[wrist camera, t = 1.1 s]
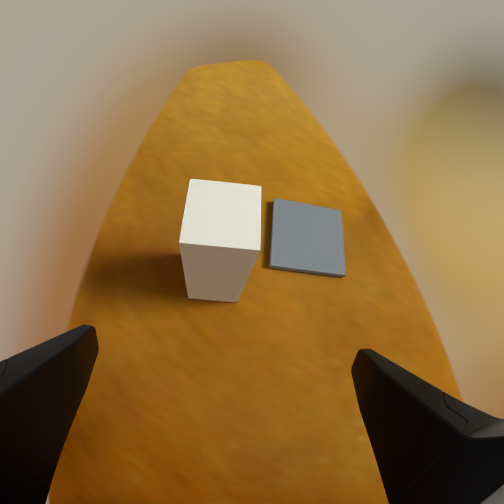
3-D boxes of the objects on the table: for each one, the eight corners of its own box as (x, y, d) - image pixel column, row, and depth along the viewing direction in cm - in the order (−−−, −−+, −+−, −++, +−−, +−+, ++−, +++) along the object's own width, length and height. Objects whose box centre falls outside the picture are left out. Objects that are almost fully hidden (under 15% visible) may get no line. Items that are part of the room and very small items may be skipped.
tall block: (237, 302, 23) (260, 250, 14) (188, 298, 23) (179, 242, 14) (239, 257, 25) (261, 186, 16) (193, 253, 24) (190, 178, 16)
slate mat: (342, 277, 26) (345, 275, 25) (269, 267, 25) (270, 265, 24) (338, 213, 29) (340, 210, 28) (272, 201, 28) (274, 198, 27)
